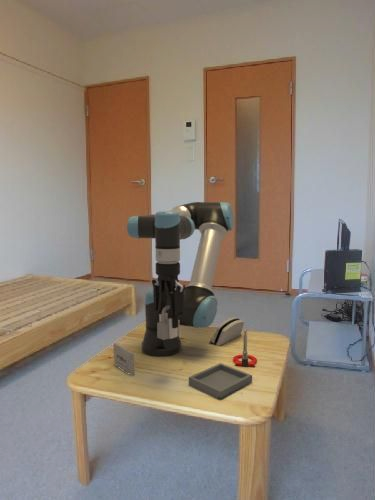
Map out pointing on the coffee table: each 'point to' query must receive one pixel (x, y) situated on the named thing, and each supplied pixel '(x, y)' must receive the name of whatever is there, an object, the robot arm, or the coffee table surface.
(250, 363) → the tow hook
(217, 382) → the tray
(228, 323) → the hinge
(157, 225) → the robot arm
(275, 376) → the coffee table surface
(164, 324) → the padlock
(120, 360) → the cassette
